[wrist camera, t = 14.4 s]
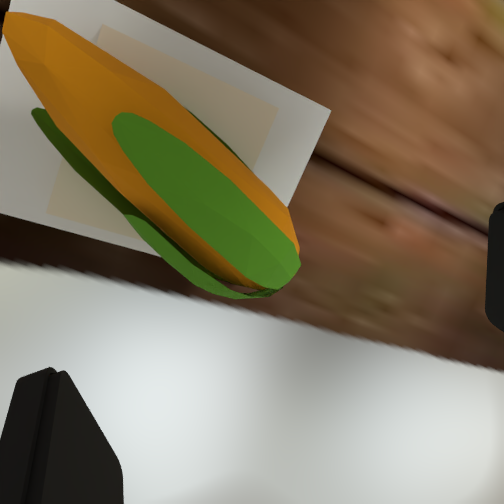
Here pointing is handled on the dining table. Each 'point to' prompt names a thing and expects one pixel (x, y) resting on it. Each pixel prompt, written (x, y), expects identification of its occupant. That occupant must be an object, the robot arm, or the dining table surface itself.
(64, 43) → the corn
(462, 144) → the dining table surface
